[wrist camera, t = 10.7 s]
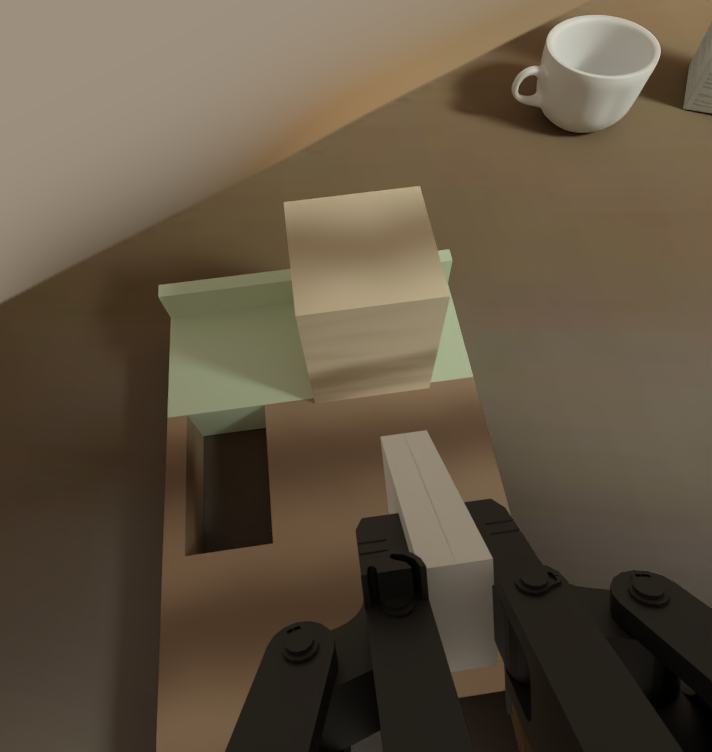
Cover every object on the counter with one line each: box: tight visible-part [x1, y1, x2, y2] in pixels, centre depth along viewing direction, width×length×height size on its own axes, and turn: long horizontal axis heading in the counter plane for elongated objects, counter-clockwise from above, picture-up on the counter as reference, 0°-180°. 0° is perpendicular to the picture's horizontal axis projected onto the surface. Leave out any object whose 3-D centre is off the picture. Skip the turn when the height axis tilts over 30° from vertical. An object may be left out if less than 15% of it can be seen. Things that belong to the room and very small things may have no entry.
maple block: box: [284, 186, 450, 404], centre depth 25 cm, size 6×6×8 cm
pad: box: [158, 249, 473, 436], centre depth 29 cm, size 7×16×5 cm, turn 98°
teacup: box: [512, 15, 661, 133], centre depth 39 cm, size 10×8×5 cm
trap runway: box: [156, 377, 532, 752], centre depth 24 cm, size 21×16×3 cm
